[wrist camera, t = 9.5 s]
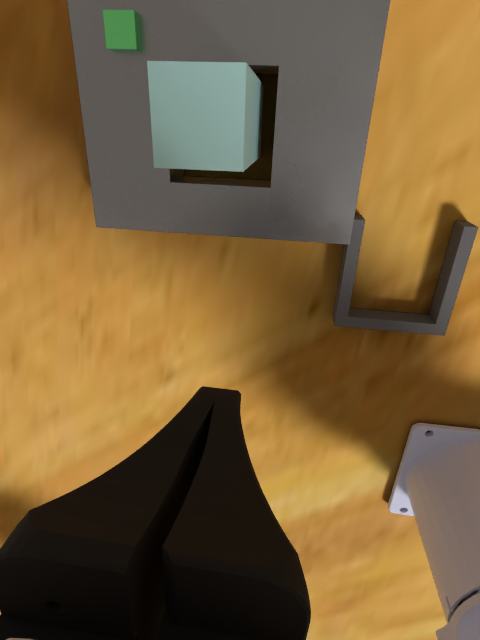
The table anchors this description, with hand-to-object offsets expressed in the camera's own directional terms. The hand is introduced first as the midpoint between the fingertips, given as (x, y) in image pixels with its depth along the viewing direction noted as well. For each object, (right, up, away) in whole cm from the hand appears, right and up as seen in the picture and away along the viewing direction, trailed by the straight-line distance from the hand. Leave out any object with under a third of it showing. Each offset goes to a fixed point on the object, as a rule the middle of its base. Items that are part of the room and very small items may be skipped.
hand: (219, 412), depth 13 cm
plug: (0, +13, +5) cm, 13 cm away
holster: (+9, +6, +7) cm, 13 cm away
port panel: (0, +12, +5) cm, 13 cm away
